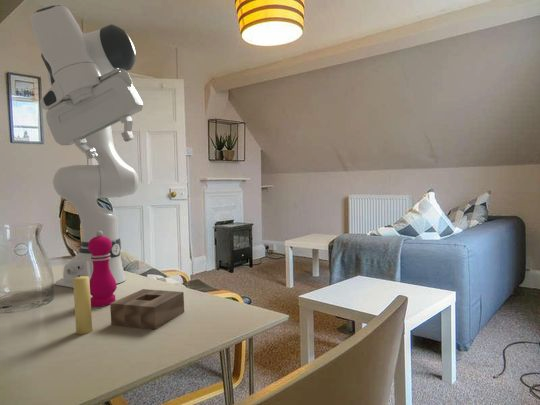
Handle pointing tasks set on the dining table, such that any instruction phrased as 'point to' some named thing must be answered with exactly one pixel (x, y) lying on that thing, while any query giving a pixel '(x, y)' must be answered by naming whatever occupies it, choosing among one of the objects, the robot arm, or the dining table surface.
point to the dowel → (82, 304)
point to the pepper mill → (101, 271)
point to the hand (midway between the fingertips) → (111, 149)
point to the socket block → (147, 308)
